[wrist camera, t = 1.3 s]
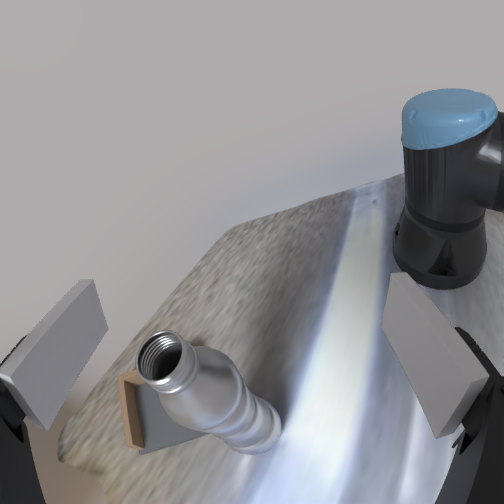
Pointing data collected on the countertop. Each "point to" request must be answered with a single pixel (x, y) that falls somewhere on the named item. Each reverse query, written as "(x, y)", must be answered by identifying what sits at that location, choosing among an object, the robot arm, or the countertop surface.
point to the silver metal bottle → (207, 393)
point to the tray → (148, 417)
